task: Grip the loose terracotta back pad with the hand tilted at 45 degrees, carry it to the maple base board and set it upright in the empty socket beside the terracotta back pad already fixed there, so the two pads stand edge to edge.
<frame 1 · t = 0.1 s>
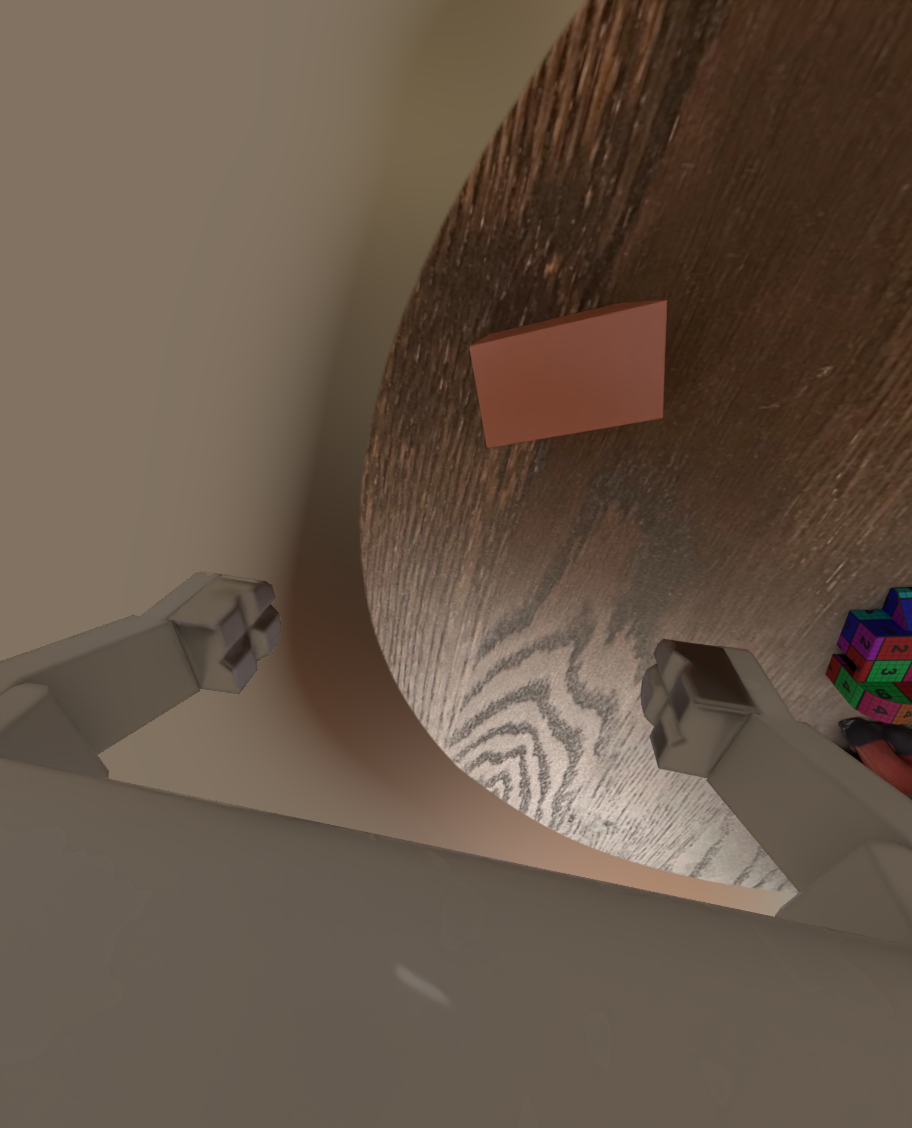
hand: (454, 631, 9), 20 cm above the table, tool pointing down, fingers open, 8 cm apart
numbered block arch: (883, 631, 29), on the table
stuffed fox: (875, 747, 35), on the table
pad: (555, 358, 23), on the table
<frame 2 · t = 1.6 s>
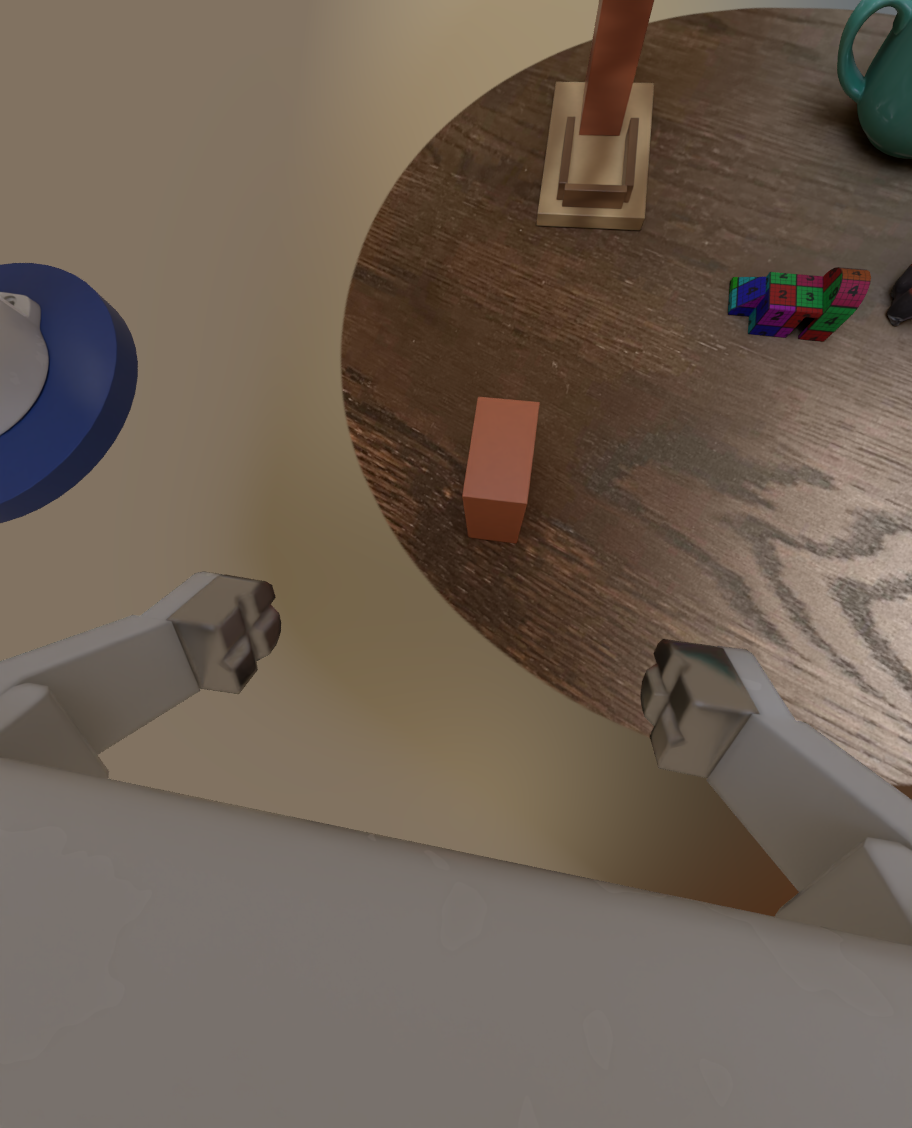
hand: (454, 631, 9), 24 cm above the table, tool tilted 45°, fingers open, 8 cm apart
numbered block arch: (773, 312, 37), on the table
mug: (880, 131, 40), on the table
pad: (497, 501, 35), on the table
pad base: (594, 159, 42), on the table
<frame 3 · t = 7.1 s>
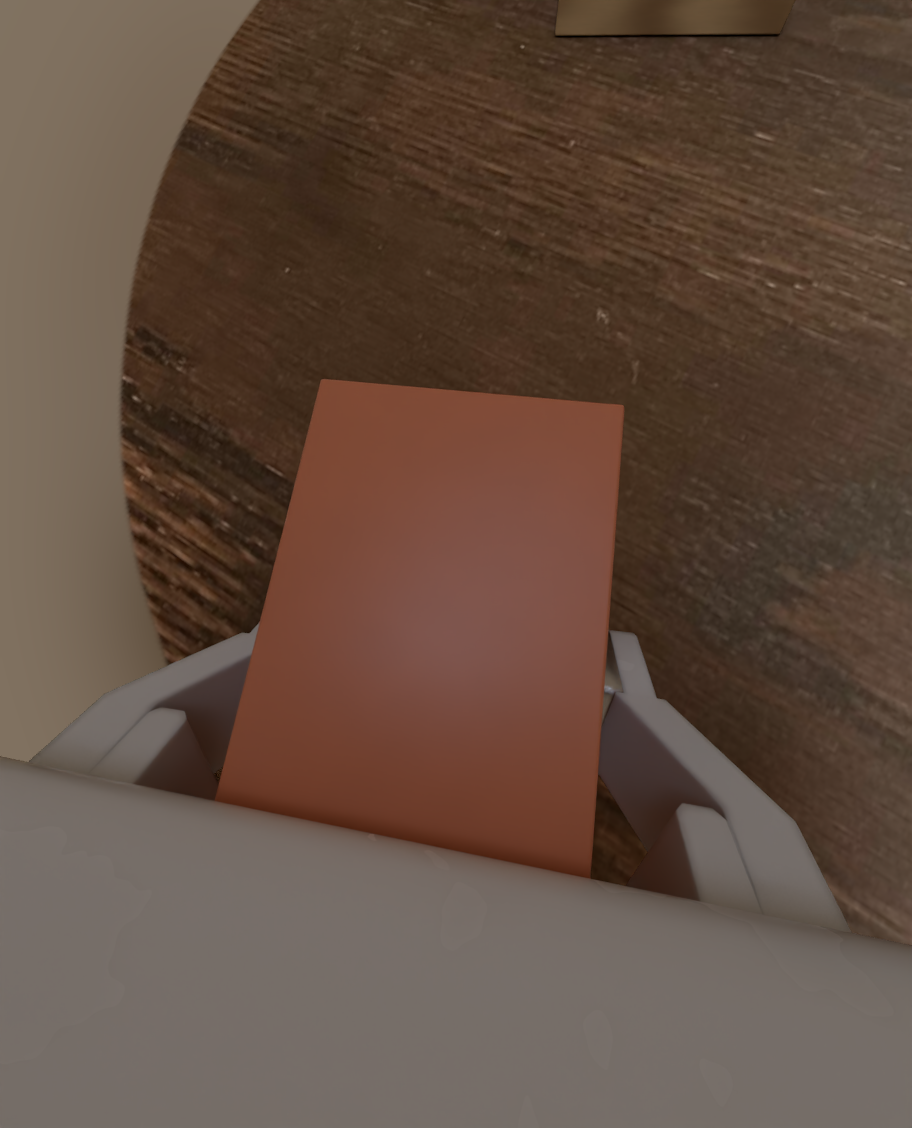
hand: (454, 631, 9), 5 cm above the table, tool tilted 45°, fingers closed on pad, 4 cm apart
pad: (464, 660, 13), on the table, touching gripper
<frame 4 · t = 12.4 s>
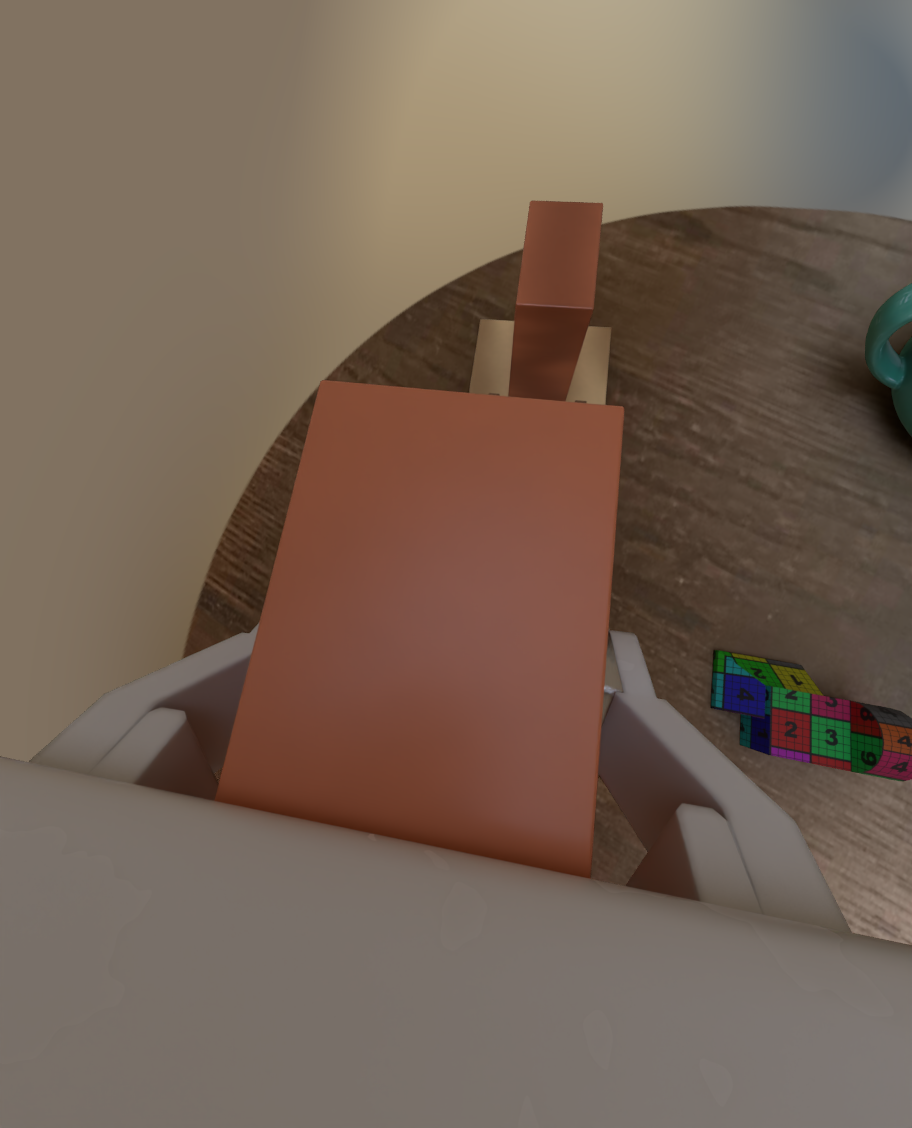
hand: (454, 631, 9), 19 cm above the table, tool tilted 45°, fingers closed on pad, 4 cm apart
numbered block arch: (776, 705, 26), on the table
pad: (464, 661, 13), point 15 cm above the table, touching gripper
pad base: (530, 433, 31), on the table
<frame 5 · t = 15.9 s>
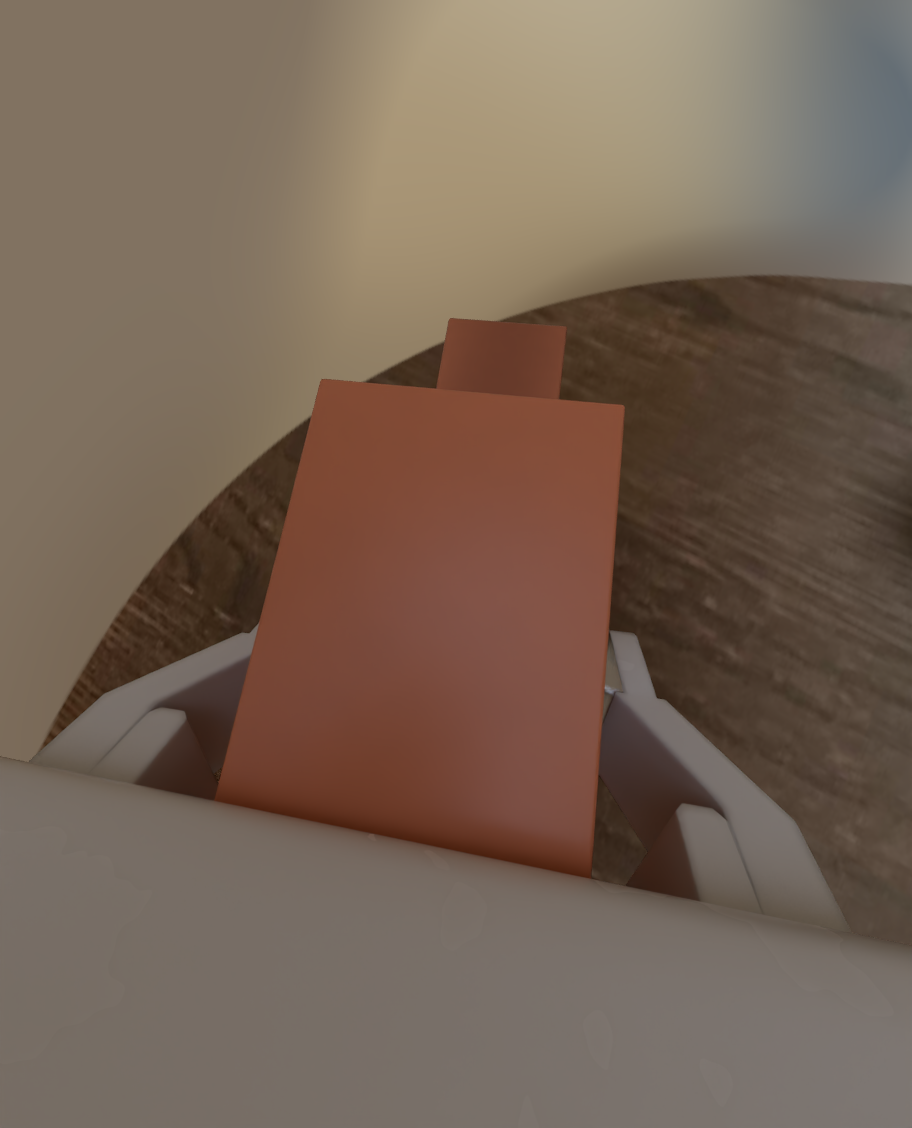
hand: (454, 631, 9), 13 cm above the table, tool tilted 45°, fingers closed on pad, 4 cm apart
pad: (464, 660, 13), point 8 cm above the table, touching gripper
pad base: (478, 603, 22), on the table
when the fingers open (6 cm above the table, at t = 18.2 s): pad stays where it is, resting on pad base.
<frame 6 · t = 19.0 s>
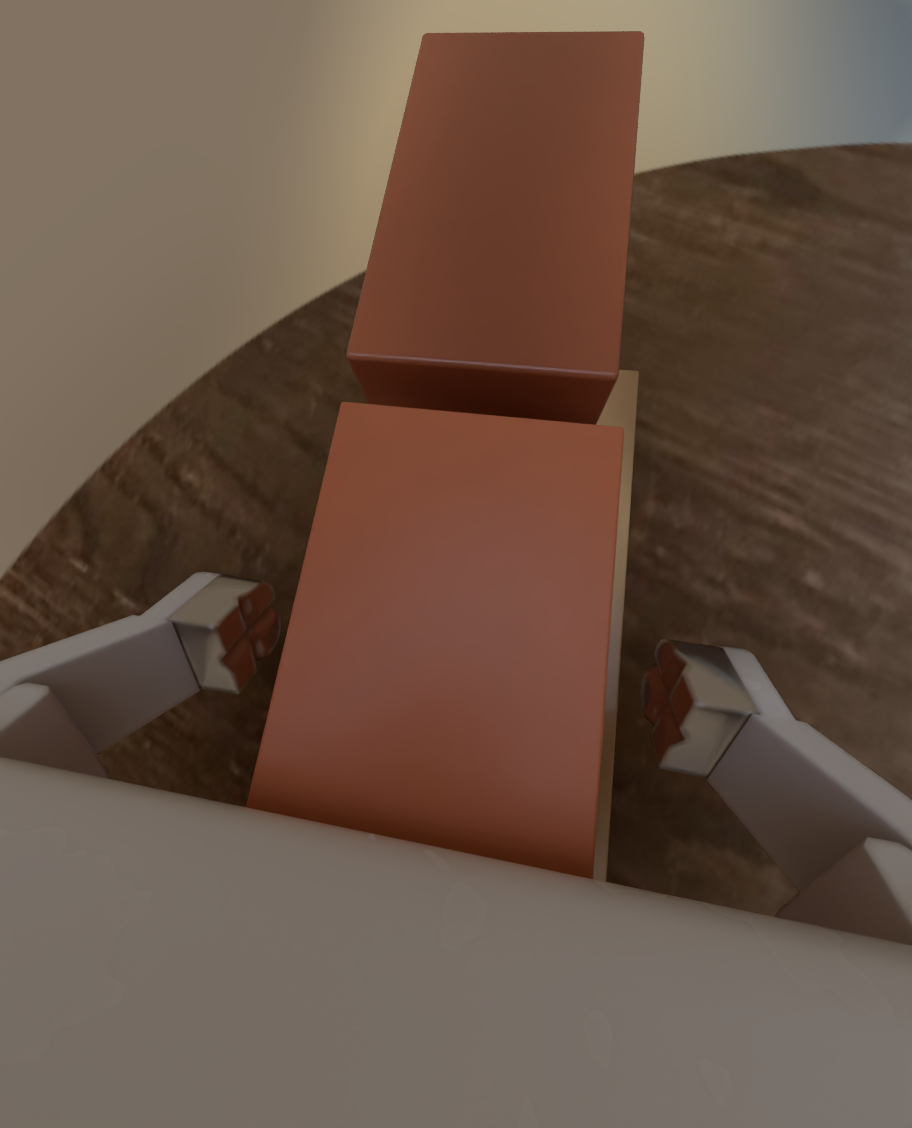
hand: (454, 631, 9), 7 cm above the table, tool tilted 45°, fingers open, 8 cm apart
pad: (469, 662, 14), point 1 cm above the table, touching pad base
pad base: (479, 582, 16), on the table
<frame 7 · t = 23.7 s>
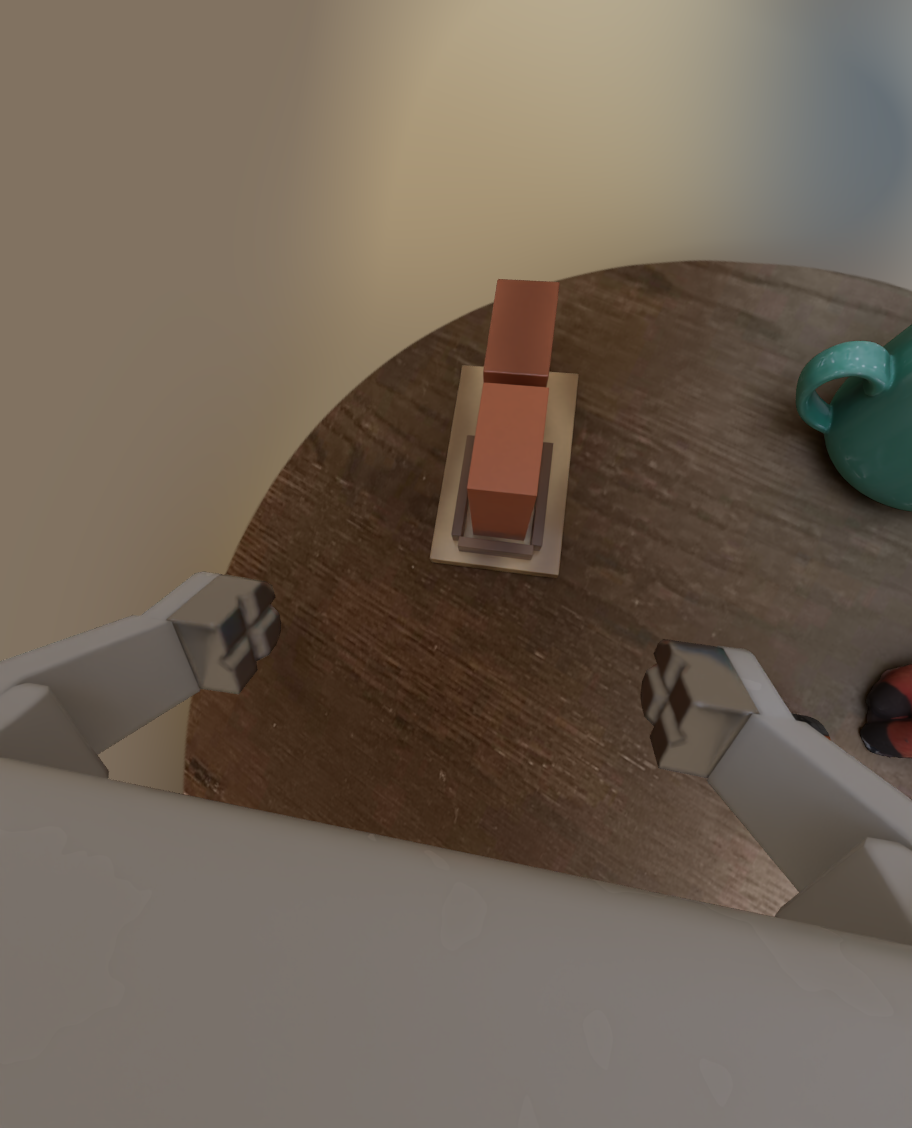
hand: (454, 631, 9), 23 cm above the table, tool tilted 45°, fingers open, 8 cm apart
mug: (854, 446, 33), on the table
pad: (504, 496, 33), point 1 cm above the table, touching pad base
pad base: (506, 469, 35), on the table
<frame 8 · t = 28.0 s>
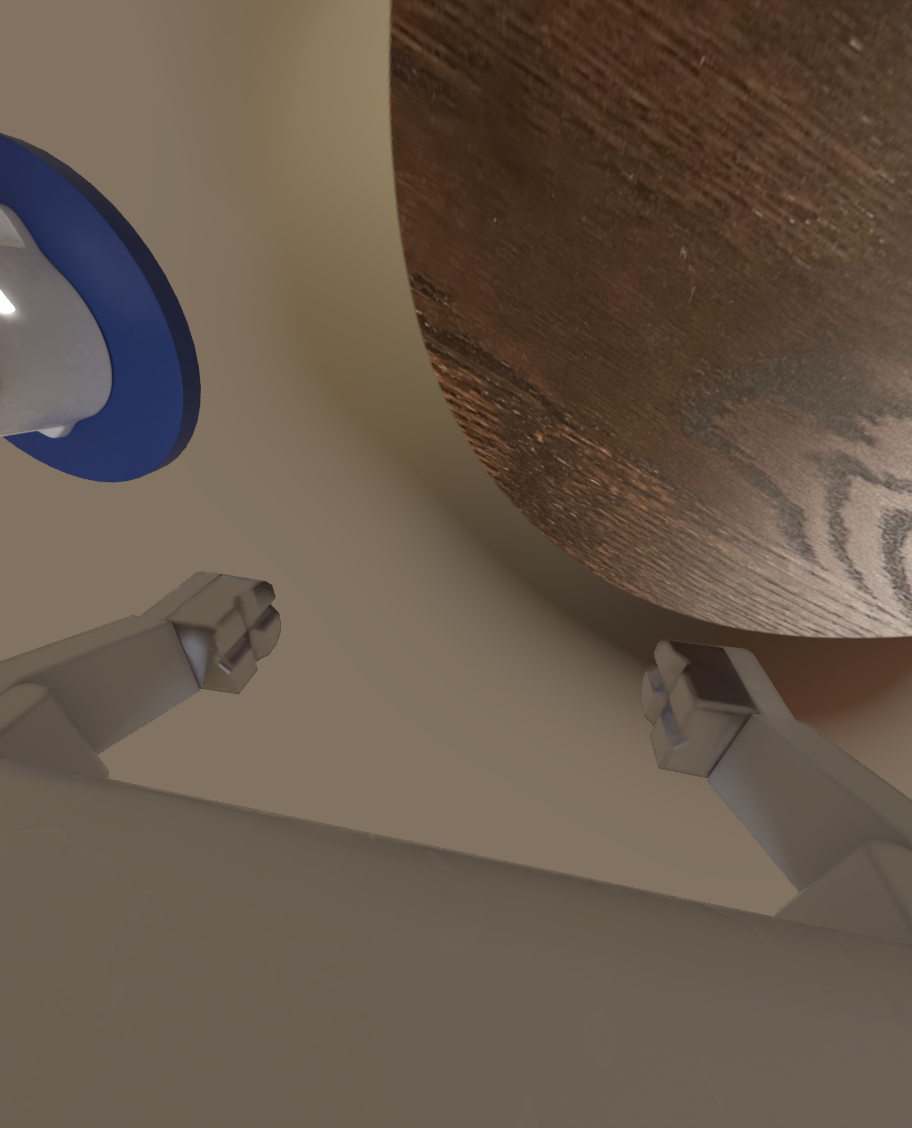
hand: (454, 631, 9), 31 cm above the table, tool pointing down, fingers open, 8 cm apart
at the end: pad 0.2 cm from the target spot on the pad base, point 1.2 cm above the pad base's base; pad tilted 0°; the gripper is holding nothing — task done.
